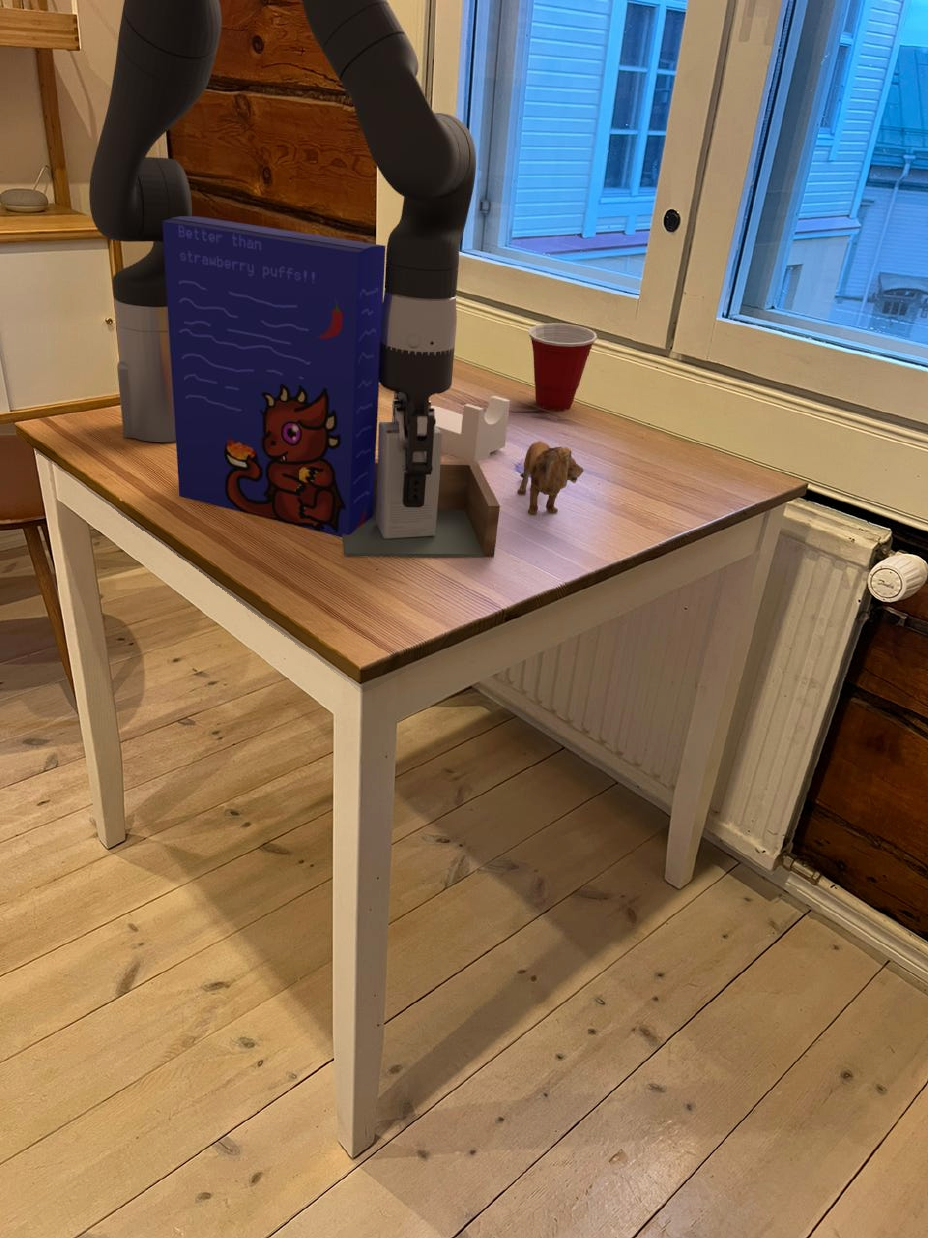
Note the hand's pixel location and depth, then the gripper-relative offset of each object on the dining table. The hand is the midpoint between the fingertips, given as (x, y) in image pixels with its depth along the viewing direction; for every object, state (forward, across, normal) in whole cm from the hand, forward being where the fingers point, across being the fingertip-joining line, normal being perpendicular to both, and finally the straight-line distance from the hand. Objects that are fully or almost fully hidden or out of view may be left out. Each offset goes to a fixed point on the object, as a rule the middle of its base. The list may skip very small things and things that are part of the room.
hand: (408, 490), depth 102 cm
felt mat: (+5, +1, -1) cm, 5 cm away
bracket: (+6, +30, -10) cm, 32 cm away
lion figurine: (+6, +10, -18) cm, 21 cm away
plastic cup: (+6, +50, -30) cm, 59 cm away
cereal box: (+6, +7, +14) cm, 17 cm away
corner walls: (+5, +1, -1) cm, 5 cm away
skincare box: (+5, 0, 0) cm, 5 cm away
